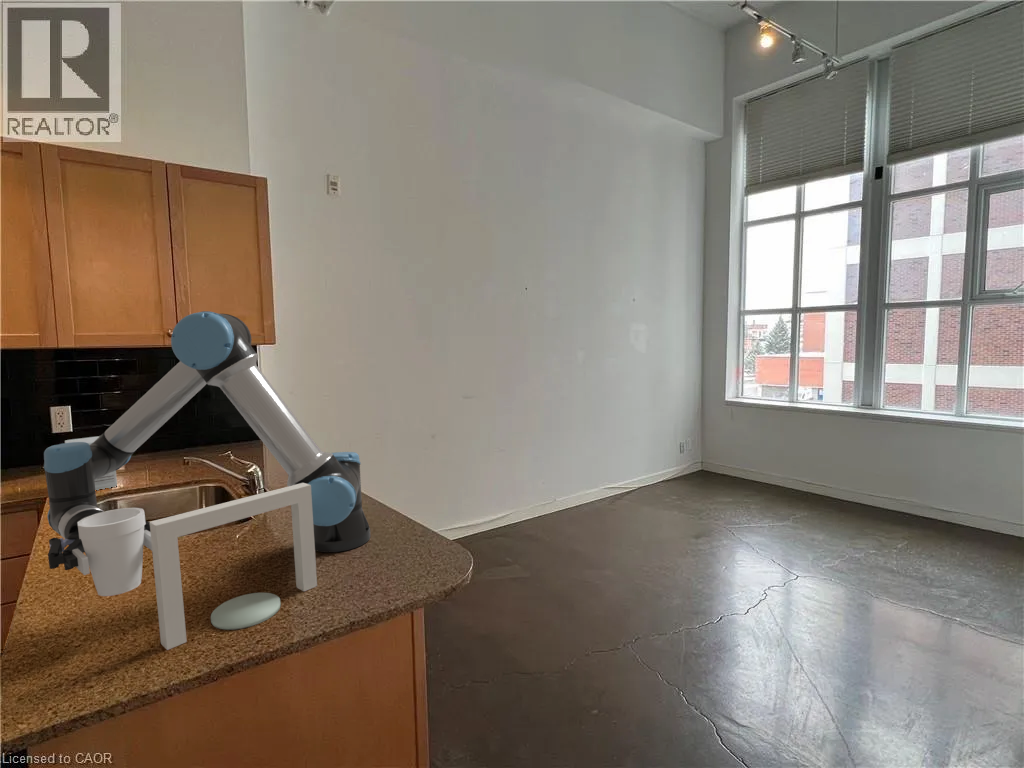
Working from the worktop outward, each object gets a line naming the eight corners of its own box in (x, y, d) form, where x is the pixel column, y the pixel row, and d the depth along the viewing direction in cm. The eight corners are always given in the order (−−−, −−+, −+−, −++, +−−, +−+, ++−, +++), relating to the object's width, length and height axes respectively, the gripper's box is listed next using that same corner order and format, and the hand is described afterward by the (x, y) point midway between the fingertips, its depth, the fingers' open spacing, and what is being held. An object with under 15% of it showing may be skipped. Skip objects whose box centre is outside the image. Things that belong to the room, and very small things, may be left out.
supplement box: (69, 487, 189) (64, 440, 187) (114, 480, 198) (110, 434, 196) (70, 495, 179) (65, 445, 178) (118, 487, 188) (113, 439, 186)
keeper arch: (298, 576, 116) (292, 479, 113) (329, 592, 108) (322, 488, 106) (152, 634, 94) (140, 516, 92) (177, 660, 86) (165, 531, 84)
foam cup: (163, 573, 98) (156, 506, 96) (128, 599, 89) (120, 525, 87) (111, 576, 98) (103, 508, 96) (71, 601, 88) (62, 527, 87)
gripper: (154, 528, 113) (195, 553, 99) (14, 566, 95) (40, 603, 81) (150, 494, 112) (192, 515, 98) (8, 526, 95) (34, 557, 81)
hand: (123, 555), depth 90 cm, fingers closed on foam cup, 9 cm apart
